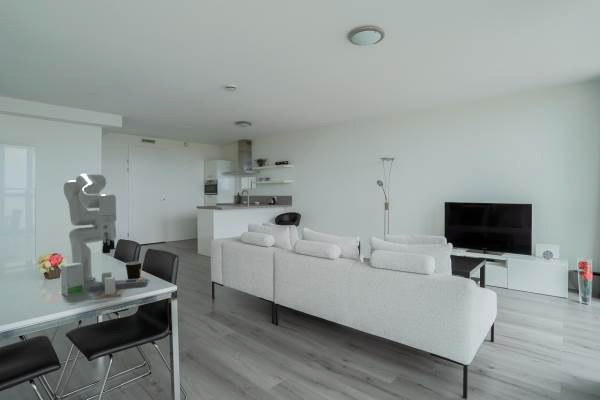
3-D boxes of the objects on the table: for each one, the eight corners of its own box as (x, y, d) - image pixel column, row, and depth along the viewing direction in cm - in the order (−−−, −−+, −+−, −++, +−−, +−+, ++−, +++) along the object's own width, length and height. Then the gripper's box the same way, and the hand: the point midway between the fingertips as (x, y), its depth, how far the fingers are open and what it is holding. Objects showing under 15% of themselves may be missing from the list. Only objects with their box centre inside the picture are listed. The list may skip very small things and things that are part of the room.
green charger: (102, 289, 172) (101, 274, 172) (103, 287, 175) (103, 272, 175) (110, 288, 173) (110, 273, 173) (111, 286, 177) (111, 272, 176)
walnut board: (95, 299, 157) (94, 298, 157) (100, 292, 168) (100, 291, 168) (120, 296, 161) (120, 295, 161) (124, 290, 171) (124, 289, 171)
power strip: (90, 292, 168) (89, 285, 168) (94, 287, 176) (94, 281, 176) (144, 286, 177) (144, 280, 177) (146, 282, 184) (145, 276, 184)
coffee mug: (135, 281, 187) (134, 265, 187) (122, 281, 189) (122, 264, 188) (148, 276, 198) (148, 260, 198) (136, 275, 200) (136, 260, 200)
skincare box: (66, 297, 161) (65, 266, 161) (60, 294, 165) (59, 265, 164) (84, 292, 168) (83, 263, 168) (78, 290, 172) (77, 261, 171)
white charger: (105, 294, 162) (104, 279, 162) (106, 292, 165) (106, 277, 165) (114, 293, 164) (113, 278, 163) (115, 292, 167) (114, 276, 166)
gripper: (112, 219, 157) (113, 254, 158) (119, 216, 173) (120, 247, 174) (94, 220, 155) (95, 255, 155) (103, 217, 171) (104, 248, 172)
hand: (108, 251), depth 165 cm, fingers open, 9 cm apart
